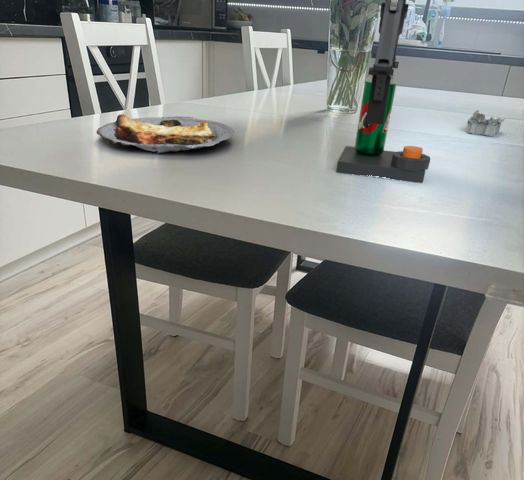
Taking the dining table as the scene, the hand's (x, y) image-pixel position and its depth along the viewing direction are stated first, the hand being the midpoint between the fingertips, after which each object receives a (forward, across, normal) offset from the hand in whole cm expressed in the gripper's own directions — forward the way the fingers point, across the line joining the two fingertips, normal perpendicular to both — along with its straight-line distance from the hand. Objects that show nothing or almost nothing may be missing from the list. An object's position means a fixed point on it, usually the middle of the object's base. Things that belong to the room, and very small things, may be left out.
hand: (376, 116), depth 81 cm
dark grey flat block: (+8, -2, -2) cm, 8 cm away
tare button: (+5, -5, -7) cm, 10 cm away
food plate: (+8, -1, +38) cm, 39 cm away
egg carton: (+8, +47, -25) cm, 53 cm away
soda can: (+6, 0, 0) cm, 6 cm away
